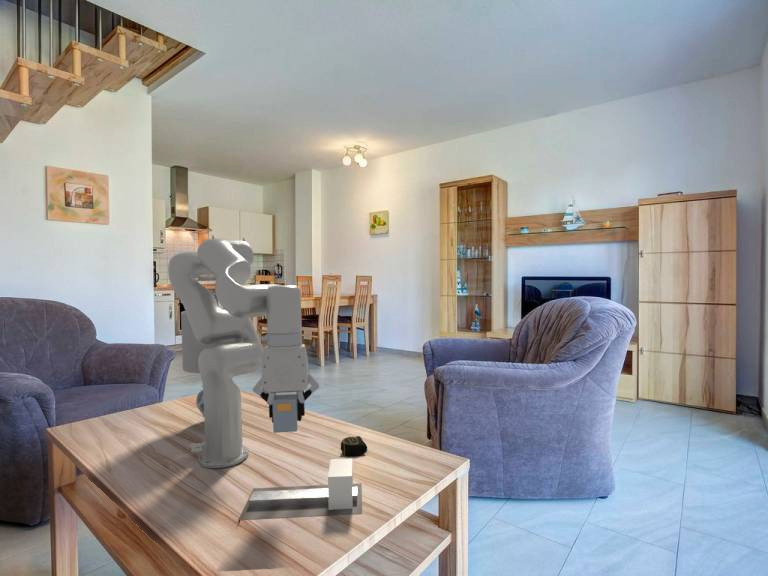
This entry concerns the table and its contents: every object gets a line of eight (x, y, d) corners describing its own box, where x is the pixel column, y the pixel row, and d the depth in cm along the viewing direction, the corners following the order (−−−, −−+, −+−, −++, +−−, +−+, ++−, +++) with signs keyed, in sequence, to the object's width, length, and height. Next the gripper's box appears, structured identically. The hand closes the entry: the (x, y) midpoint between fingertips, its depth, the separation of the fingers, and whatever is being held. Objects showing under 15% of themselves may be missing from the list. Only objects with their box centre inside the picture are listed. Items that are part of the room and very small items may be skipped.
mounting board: (238, 524, 82) (238, 519, 82) (253, 492, 94) (253, 488, 94) (362, 518, 83) (362, 513, 83) (361, 487, 95) (361, 483, 95)
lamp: (183, 416, 144) (180, 309, 143) (246, 406, 154) (243, 306, 153) (186, 438, 125) (182, 315, 124) (257, 425, 135) (254, 311, 134)
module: (273, 433, 88) (272, 401, 87) (279, 419, 96) (278, 390, 95) (296, 431, 88) (295, 399, 88) (300, 418, 96) (299, 389, 96)
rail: (248, 507, 86) (248, 500, 86) (253, 498, 90) (252, 491, 90) (357, 502, 88) (357, 495, 88) (357, 493, 91) (357, 486, 91)
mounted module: (328, 509, 85) (328, 477, 85) (331, 489, 93) (330, 459, 93) (352, 508, 85) (352, 475, 85) (352, 488, 93) (352, 458, 93)
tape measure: (368, 456, 112) (367, 443, 111) (343, 460, 110) (343, 447, 109) (361, 446, 118) (361, 434, 118) (338, 450, 116) (338, 437, 116)
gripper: (242, 344, 87) (244, 428, 87) (322, 341, 88) (324, 423, 89) (249, 338, 94) (252, 416, 95) (323, 336, 96) (325, 412, 97)
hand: (287, 418), depth 92 cm, fingers closed on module, 5 cm apart
